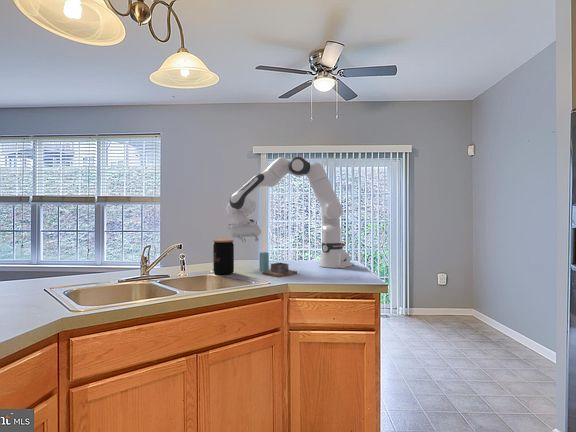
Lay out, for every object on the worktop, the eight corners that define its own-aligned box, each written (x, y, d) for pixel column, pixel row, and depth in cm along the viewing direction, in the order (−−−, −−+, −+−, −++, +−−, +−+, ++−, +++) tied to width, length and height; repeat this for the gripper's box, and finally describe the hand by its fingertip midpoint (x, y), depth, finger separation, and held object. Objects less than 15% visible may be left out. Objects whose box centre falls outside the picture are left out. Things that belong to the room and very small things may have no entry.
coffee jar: (212, 272, 181) (212, 239, 180) (232, 271, 184) (232, 238, 183) (214, 276, 170) (214, 240, 170) (235, 274, 174) (235, 240, 173)
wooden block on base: (281, 270, 185) (281, 261, 185) (297, 273, 176) (297, 263, 176) (262, 273, 176) (262, 264, 176) (277, 277, 167) (277, 266, 167)
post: (264, 269, 188) (264, 252, 188) (268, 270, 185) (268, 252, 185) (259, 270, 186) (259, 252, 185) (263, 271, 183) (263, 253, 183)
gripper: (228, 220, 192) (238, 238, 185) (256, 220, 206) (266, 236, 199) (224, 228, 196) (233, 246, 189) (252, 226, 210) (262, 243, 203)
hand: (251, 241), depth 194 cm, fingers open, 8 cm apart
